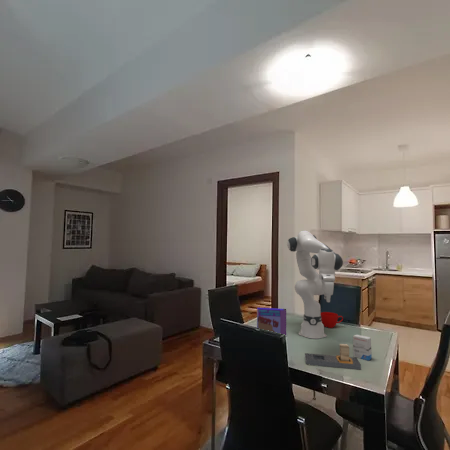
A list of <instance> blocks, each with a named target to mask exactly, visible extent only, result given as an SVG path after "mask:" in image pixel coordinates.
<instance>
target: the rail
mask: <svg viewBox="0 0 450 450" xmlns="http://www.w3.org/2000/svg"><path fill="white" fill-rule="evenodd" d="M304 360H305V365H306V364H310V365H309V366H315V365H318V367H326V366H327V367H328V368H336V369H337V368H340V369H350V370H360V371H361V370H362V365H361V363H360V361H359V358H357V357H354V356H349V361H340V354H338V355H337V354H336V355H331V354H320V353H319V354H318V353H304ZM327 367H326V368H327Z"/></svg>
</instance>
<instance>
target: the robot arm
mask: <svg viewBox="0 0 450 450" xmlns="http://www.w3.org/2000/svg"><path fill="white" fill-rule="evenodd" d="M286 243H287V244H286V245H287V248H288V250H289V251H290V252H292V253H293V252H296V253H295V255H296V256H295V257H296V258H295V259H296V263H297V267H298V271H299V274H300V275H301V276H302V277H303V278H305V279H300V280H297V281H296V282H295V284H294V290H295V292H296V294H297V295H298V296H299V297H301V298H300V299H301V300H302V301H303V321H302V322H301V323H300V330H299V332H298V336H301V337H305V338H309V339H315V340H316V339H323V338H327V334H326V333H325V326H324V325H323V323H322V321H321V313H322V311H321V309H322V308H321V304H320V302H318V301H317V300H316V299H315V297H314V296H322V295H324V296H323V298H324V300H326V303H331V296H333V295H334V289H335V288H334V287H335V282H336V271H339V270H340V269H341V268H342V267H343V264H344V261H343V258H342V256H341V255H340V254H339V253H336V252H335V251H334V250H333V249H331V248H330V247H329V246H328V245H327V244H325V243H324V242H321V241H320V240H318V239H317V236H315V234H312V233H311V231H308V230H301V231H299V232H298V234H297V236H295V237H289V238H288V239H287V242H286ZM311 253H312V254H313V256H311ZM317 270H318V272H317Z"/></svg>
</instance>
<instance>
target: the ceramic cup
mask: <svg viewBox="0 0 450 450" xmlns="http://www.w3.org/2000/svg"><path fill="white" fill-rule="evenodd" d="M339 318H341V320H339ZM338 320H339V321H338ZM343 320H344V317H343V316H342V315H338V313H335V312H330V311H323V312H322V311H321V322H322V323H323V325H324V328H327V327H328V329H333V327H335V326H336V325H337V324H340V323H341V322H343Z"/></svg>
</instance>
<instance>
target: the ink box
mask: <svg viewBox="0 0 450 450" xmlns="http://www.w3.org/2000/svg"><path fill="white" fill-rule="evenodd" d="M352 346H353V347H352V351H353V356H352V357H356V358H357V359H361V360H364V361H367V362H368V361H370V360H372V358H373V356H372V355H373V354H372V337H370V336H365V335H361V334H354V335H353V336H352Z"/></svg>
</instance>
